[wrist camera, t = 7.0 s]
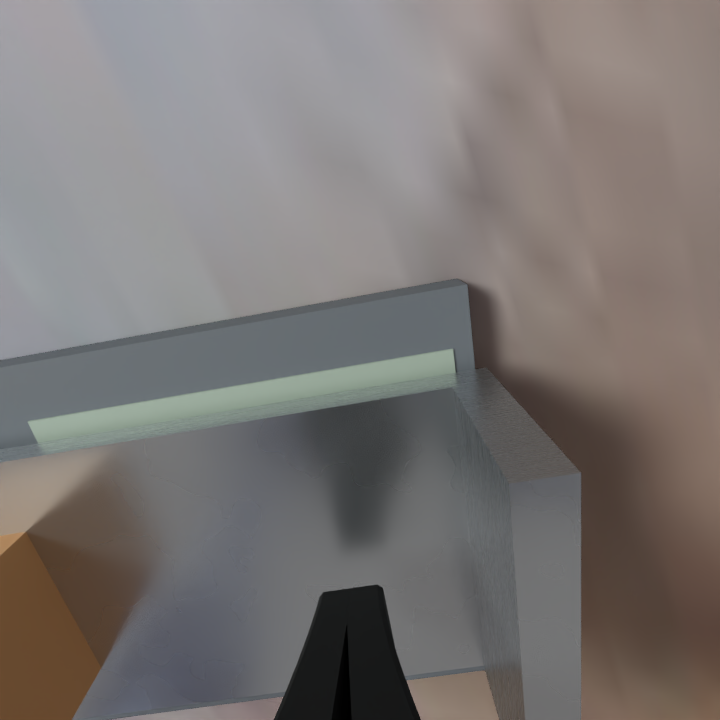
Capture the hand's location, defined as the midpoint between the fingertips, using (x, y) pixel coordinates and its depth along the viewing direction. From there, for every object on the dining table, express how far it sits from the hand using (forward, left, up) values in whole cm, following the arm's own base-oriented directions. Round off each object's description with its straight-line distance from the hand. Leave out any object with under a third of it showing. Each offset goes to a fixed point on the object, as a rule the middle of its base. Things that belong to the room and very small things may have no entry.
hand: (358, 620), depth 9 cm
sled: (0, +6, -2) cm, 6 cm away
